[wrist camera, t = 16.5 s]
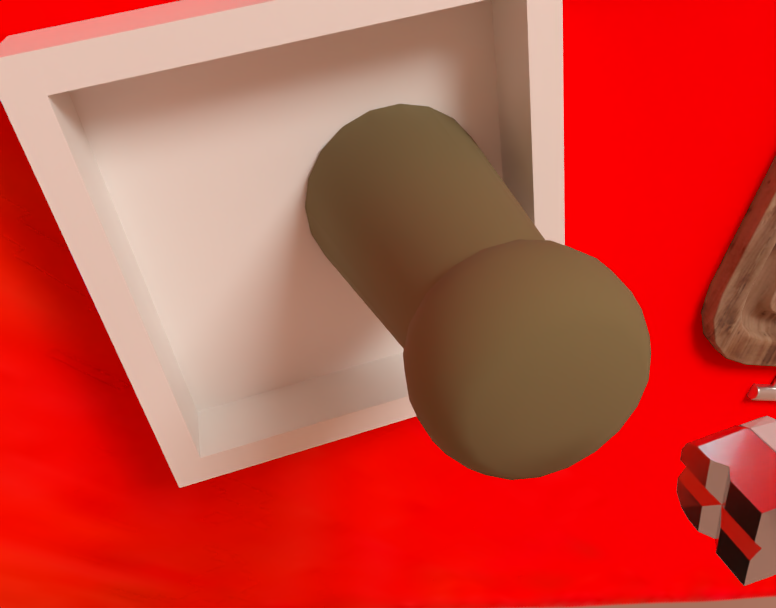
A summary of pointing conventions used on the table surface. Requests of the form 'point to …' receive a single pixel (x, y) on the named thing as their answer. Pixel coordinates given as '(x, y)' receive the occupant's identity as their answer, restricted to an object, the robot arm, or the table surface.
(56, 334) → the table surface
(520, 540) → the table surface
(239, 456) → the tray
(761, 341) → the chopping board
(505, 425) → the cork
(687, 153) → the table surface
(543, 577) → the table surface
